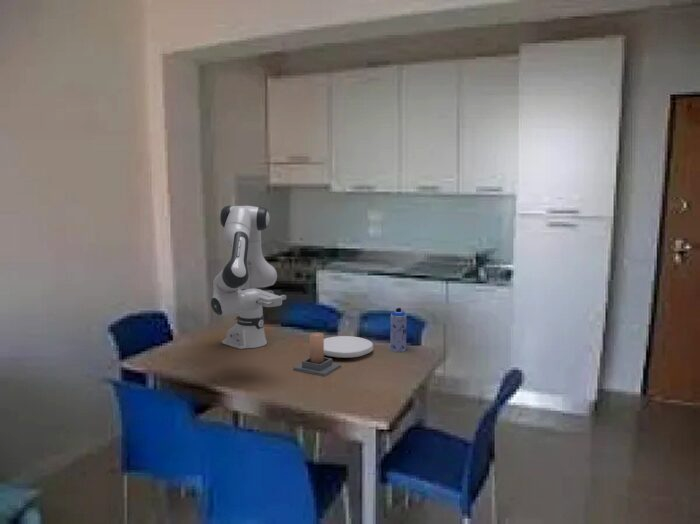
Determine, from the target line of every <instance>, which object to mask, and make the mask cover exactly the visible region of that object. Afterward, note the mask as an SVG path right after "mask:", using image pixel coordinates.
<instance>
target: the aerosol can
mask: <svg viewBox="0 0 700 524" xmlns="http://www.w3.org/2000/svg"><path fill="white" fill-rule="evenodd" d="M389 325H390V338H389V339H390V340H389V341H390V343H389V345H390V346H389V350H390V351H392V352H395V353H402V352H403V353H404V352H406V351H407V313H405V311H403V310H402V308H401V307H397V308H395V310H394V311H393V312H391V314H390V324H389Z"/></svg>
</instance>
